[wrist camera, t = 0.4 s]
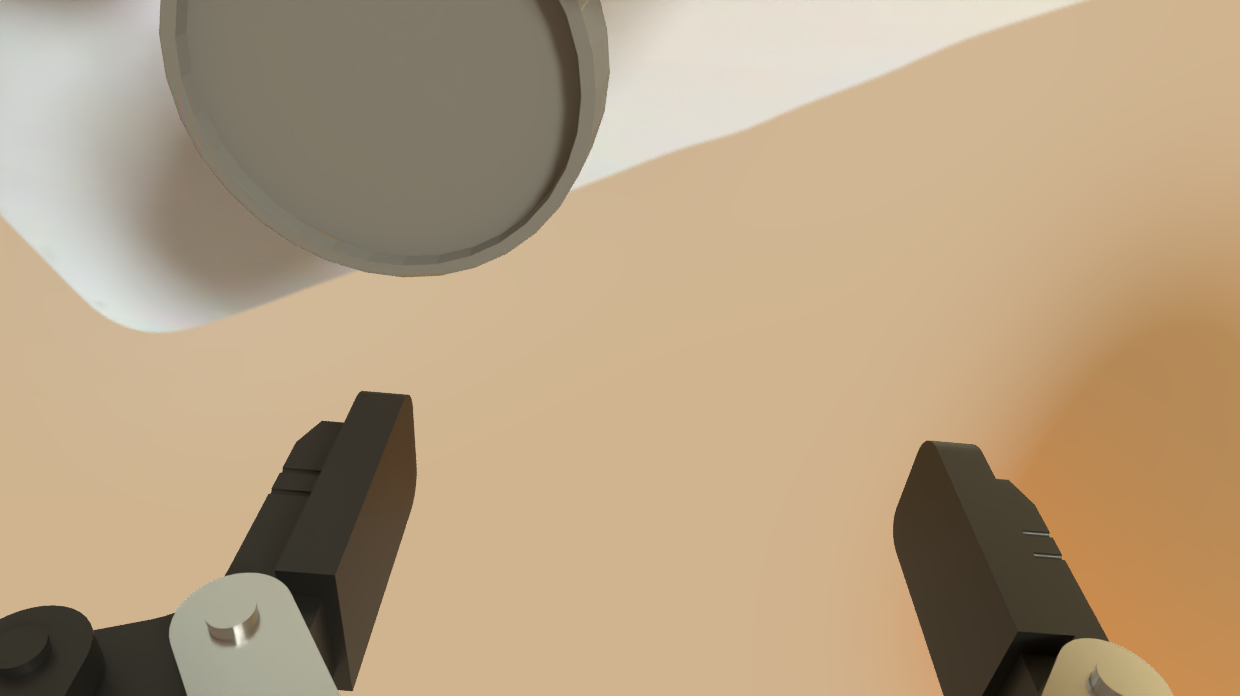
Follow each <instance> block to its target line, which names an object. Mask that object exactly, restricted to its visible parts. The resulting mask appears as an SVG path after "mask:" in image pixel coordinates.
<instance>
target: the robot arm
mask: <svg viewBox="0 0 1240 696" xmlns="http://www.w3.org/2000/svg"><path fill="white" fill-rule="evenodd" d="M416 470H417V468H416V451H415V437H414V420H413V405H412V399H411V397H410V395H403V394H392V393H380V392H368V391H361V392H360V393H359V394H358V395H357V397H356V399H355V401H354V403H353V405H352V407H351V409H350V412H349V414H348V416H347V418H346V420H345V422H344V423H341V422H330V421H321V422H320V423H319V424H318V425H316V426H315V427H314V428H313V429H311V430H310V431H309V432H308V433H307V434H305V435H304V436H303V437H302V438H301V439H300V440H298V441H297V442H296V444H295V445H294V447H293V449H292V451H291V453H290V455H289V457H288V459H287V461H286V462H285V464H284V466H283V472H282V473H280V474H279V476H278V477H277V480H276V481H275V483H274V485H273V487H272V492H271V494H268V496H267V498H266V500H265V502H264V504H263V506H262V508H261V510H260V511H259V513H258V515H257V517H256V519H255V521H254V523H253V524H252V526H251V528H250V530H249V532H248V534H247V536H246V538H245V540H244V541H243V543H242V545H241V547H240V549H239V551H238V553H237V554H236V556H235V558H234V560H233V562H232V564H231V566H230V568H229V570H228V571H227V573H226V575H225V576H224V577H222V578H219V579H216V580H214V581H212V582H209V583H207V584H206V585H204V586H202V587H201V588H199V589H197V590H196V591H195V592H194V593H192V594H191V595H190V596H189V597H188V598H187V599H186V600H185V601H184V602H183V603H182V604H181V605H180V607H179V608H178V609H177V611H176V612H175V613H173V614H170V615H167V616H164V617H160V618H156V619H151V620H147V621H141V622H136V623H130V624H125V625H120V626H114V627H109V628H104V629H98V630H93V628H92V626H91V624H90V622H89V621H88V619H87V618H86V617H85V616H84V615H83V614H82V613H80V612H78V611H76V610H74V609H72V608H68V607H64V606H40V607H34V608H30V609H26V610H22V611H19V612H16V613H14V614H11V615H8V616H6V617H4V618H2V619H0V696H340V694H339V692H338V690H345V691H353V688H354V685H355V682H356V679H357V676H358V673H359V670H360V667H361V664H362V661H363V657H364V654H365V651H366V648H367V645H368V642H369V639H370V635H371V633H372V629H373V626H374V623H375V620H376V617H377V614H378V611H379V608H380V604H381V602H382V599H383V595H384V592H385V589H386V586H387V583H388V580H389V576H390V574H391V570H392V567H393V564H394V561H395V558H396V555H397V552H398V549H399V545H400V543H401V540H402V536H403V533H404V530H405V527H406V524H407V521H408V518H409V515H410V511H411V508H412V504H413V500H414V495H415V487H416V475H417V471H416ZM893 538H894V545H895V549H896V553H897V556H898V559H899V562H900V565H901V568H902V571H903V574H904V577H905V580H906V583H907V586H908V589H909V592H910V595H911V598H912V601H913V604H914V607H915V610H916V613H917V616H918V619H919V622H920V625H921V628H922V631H923V634H924V637H925V640H926V643H927V647H928V650H929V653H930V656H931V659H932V661H933V664H934V668H935V670H936V673H937V677H938V680H939V683H940V686H941V689H942V692H943V695H944V696H1174V695H1173V694H1172V692H1171V690H1170V688H1169V686H1168V685H1167V684H1166V682H1165V681H1164V680H1163V678H1162V677H1161V676H1160V675H1159V674H1158V673H1157V672H1156V671H1155V670H1154V669H1153V668H1152V667H1151V666H1150V665H1149V664H1148V663H1146V662H1145V661H1144V660H1142V659H1141V658H1140V657H1138V656H1137V655H1135V654H1134V653H1132V652H1130V651H1129V650H1127V649H1125V648H1123V647H1121V646H1119V645H1116V644H1113V643H1111V642H1109V641H1108V639H1107V637H1106V635H1105V633H1104V631H1103V630H1102V628H1101V626H1100V624H1099V622H1098V620H1097V618H1096V616H1095V615H1094V613H1093V611H1092V609H1091V607H1090V605H1089V604H1088V602H1087V600H1086V598H1085V596H1084V594H1083V593H1082V591H1081V589H1080V587H1079V585H1078V583H1077V582H1076V580H1075V578H1074V576H1073V574H1072V572H1071V571H1070V569H1069V567H1068V565H1067V563H1066V561H1065V560H1062V559H1061V555H1062V554H1061V552H1060V551H1059V549H1058V547H1057V545H1056V543H1055V541H1054V539H1053V538H1050V537H1049V530H1048V529H1047V527H1046V525H1045V523H1044V521H1043V519H1042V517H1041V516H1040V514H1039V512H1038V510H1037V508H1036V506H1035V505H1034V504H1033V503H1032V502H1031V501H1030V500H1029V499H1028V498H1027V497H1025V495H1024V494H1023V493H1022V492H1021V491H1020V490H1019V489H1017V488H1016V487H1015V486H1014V485H1013V484H1012V483H1011V482H1010V481H1009V480H1002V479H996V478H995V476H994V475H993V473H992V471H991V469H990V467H989V465H988V463H987V461H986V459H985V457H984V455H983V453H982V451H981V450H980V448H979V447H978V446H976V445H973V444H962V443H950V442H938V441H926V442H924V443H923V444H922V445H921V447H920V449H919V451H918V453H917V456H916V459H915V461H914V464H913V466H912V469H911V472H910V474H909V477H908V479H907V482H906V485H905V488H904V490H903V493H902V495H901V498H900V500H899V503H898V506H897V508H896V512H895V516H894V524H893Z"/></svg>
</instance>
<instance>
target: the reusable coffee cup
mask: <svg viewBox="0 0 1240 696" xmlns="http://www.w3.org/2000/svg"><path fill="white" fill-rule="evenodd" d="M159 35H160V42H161V48H162V54H163V61H164V67H165V73H166V78H167V81H168V84H169V87H170V90H171V93H172V96H173V98H174V101H175V104H176V107H177V110H178V113H179V116H180V118H181V120H182V122H183V124H184V126H185V128H186V129H187V131H188V133H189V135H190V137H191V139H192V140H193V142H194V144H195V146H196V148H197V149H198V151H199V153H200V155H201V157H202V158H203V159H204V161H205V162H206V163H207V165H208V166H209V167H210V168H211V170H212V171H213V172H214V174H215V175H216V176H217V177H218V179H219V180H220V181H221V182H222V184H223V185H224V186H225V188H226V189H227V190H228V191H229V192H230V193H231V194H232V195H233V196H234V197H235V198H236V199H237V200H238V201H239V202H240V203H241V204H242V205H243V206H245V207H246V208H247V209H248V210H249V211H250V212H251V213H252V214H253V215H254V216H255V217H256V218H257V219H258V220H260V221H261V222H262V223H264V224H265V225H267V226H268V227H270V228H271V229H273V230H274V231H275V232H277V233H278V234H280V235H281V236H283V237H284V238H286V239H287V240H289V241H290V242H291V243H293V244H295V245H297V246H299V247H301V248H303V249H305V250H307V251H309V252H311V253H313V254H316V255H318V256H320V257H322V258H324V259H326V260H328V261H331V262H334V263H337V264H340V265H344V266H347V267H350V268H354V269H357V270H360V271H364V272H368V273H376V274H383V275H392V276H399V277H418V276H440V275H444V274H449V273H453V272H458V271H462V270H467V269H471V268H475V267H477V266H480V265H482V264H484V263H486V262H488V261H491V260H493V259H495V258H497V257H500V256H502V255H505V254H507V253H508V252H510V251H511V250H512V249H514V248H515V247H517V246H518V245H519V244H521V243H522V242H523V241H525V240H526V239H528V238H529V237H531V236H532V235H534V234H535V233H536V232H537V231H538V230H539V229H540V228H541V227H542V225H544V223H545V222H546V221H547V220H548V219H549V218H550V217H551V216H552V215H553V214H554V213H555V212H556V210H557V209H558V208H559V207H560V206H561V204H562V202H563V201H564V199H565V197H566V195H567V194H568V192H569V191H570V189H571V187H572V185H573V184H574V182H575V180H576V179H577V177H578V175H579V173H580V171H581V169H582V167H583V165H584V163H585V161H586V159H587V157H588V155H589V153H590V151H591V149H592V146H593V143H594V140H595V138H596V135H597V132H598V129H599V126H600V123H601V120H602V117H603V114H604V111H605V104H606V96H607V88H608V81H609V73H610V69H609V53H608V37H607V28H606V24H605V20H604V16H603V12H602V7H601V3H600V0H161V4H160V28H159Z"/></svg>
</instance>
